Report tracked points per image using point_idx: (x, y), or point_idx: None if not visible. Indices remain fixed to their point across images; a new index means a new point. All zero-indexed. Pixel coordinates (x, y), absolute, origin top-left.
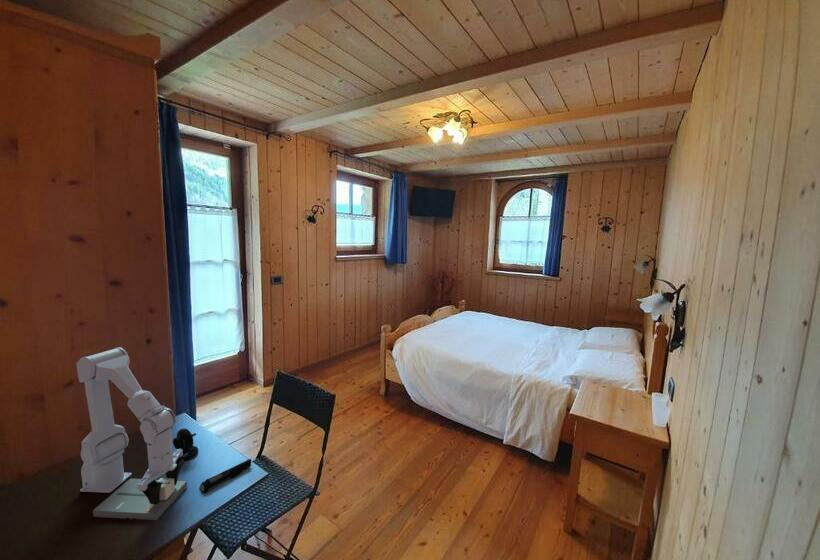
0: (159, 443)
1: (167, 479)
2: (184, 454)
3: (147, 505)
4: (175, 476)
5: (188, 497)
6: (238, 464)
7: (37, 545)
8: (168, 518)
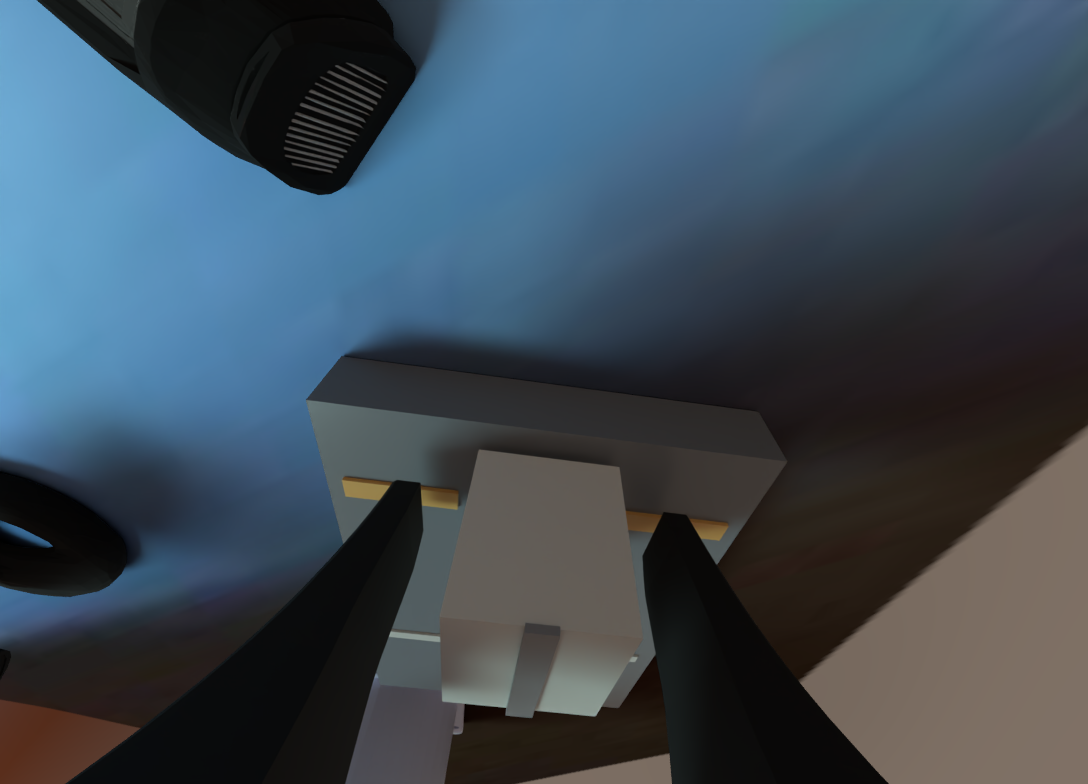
0: None
1: (462, 659)
2: (24, 552)
3: (641, 552)
4: (365, 594)
5: (487, 261)
6: None
7: None
8: (777, 322)
